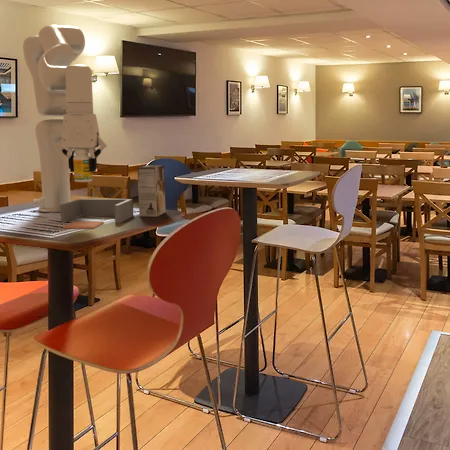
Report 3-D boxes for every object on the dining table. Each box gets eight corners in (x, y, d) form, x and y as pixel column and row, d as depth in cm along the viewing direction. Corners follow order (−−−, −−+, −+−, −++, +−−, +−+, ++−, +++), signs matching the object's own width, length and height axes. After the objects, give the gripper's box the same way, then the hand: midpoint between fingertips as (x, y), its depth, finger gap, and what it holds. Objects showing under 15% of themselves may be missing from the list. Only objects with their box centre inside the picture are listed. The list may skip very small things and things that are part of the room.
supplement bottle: (82, 179, 177) (81, 148, 175) (96, 180, 175) (95, 148, 173) (70, 181, 173) (68, 148, 171) (84, 182, 170) (82, 149, 168)
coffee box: (148, 212, 199) (146, 165, 196) (166, 212, 198) (164, 165, 195) (138, 216, 190) (136, 167, 187) (157, 216, 189) (156, 166, 186)
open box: (61, 222, 180) (60, 205, 179) (79, 215, 194) (78, 198, 193) (119, 223, 177) (118, 205, 176) (133, 215, 192) (132, 199, 191)
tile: (63, 228, 170) (63, 226, 170) (75, 223, 178) (75, 221, 178) (93, 228, 168) (93, 226, 168) (103, 223, 177) (103, 221, 177)
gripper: (46, 109, 167) (50, 172, 171) (104, 108, 165) (106, 173, 168) (57, 109, 175) (60, 170, 178) (112, 109, 172) (115, 170, 176)
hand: (83, 171), depth 173 cm, fingers closed on supplement bottle, 5 cm apart
